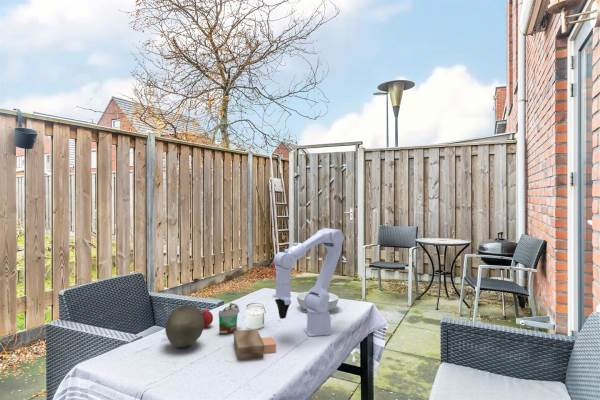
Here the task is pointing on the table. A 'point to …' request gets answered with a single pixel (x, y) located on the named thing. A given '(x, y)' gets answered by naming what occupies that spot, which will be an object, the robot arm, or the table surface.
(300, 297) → the serving bowl
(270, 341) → the peach block
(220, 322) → the food container
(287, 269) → the robot arm
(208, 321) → the onion
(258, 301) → the table surface
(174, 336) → the cantaloupe
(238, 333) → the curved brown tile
